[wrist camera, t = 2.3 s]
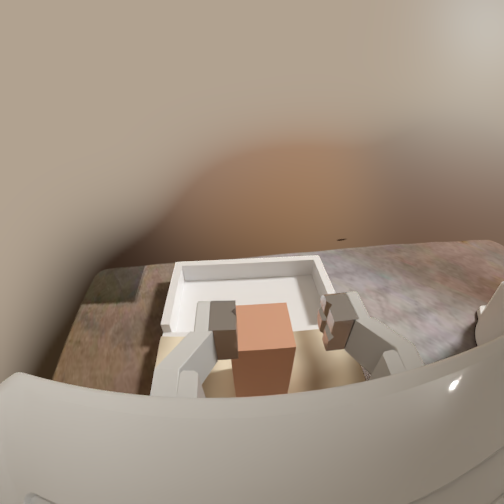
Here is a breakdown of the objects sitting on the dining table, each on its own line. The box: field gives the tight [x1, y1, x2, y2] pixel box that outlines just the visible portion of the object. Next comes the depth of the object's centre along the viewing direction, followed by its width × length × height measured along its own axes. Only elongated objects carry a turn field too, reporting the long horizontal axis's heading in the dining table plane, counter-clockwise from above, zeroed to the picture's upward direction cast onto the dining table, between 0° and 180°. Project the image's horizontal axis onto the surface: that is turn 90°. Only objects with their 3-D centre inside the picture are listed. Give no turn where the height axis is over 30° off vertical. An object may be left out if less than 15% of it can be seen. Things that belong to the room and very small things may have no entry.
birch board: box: [155, 329, 366, 398], centre depth 29 cm, size 24×13×3 cm, turn 94°
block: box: [231, 303, 296, 397], centre depth 25 cm, size 5×5×10 cm
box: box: [161, 255, 335, 337], centre depth 41 cm, size 24×15×4 cm, turn 94°
